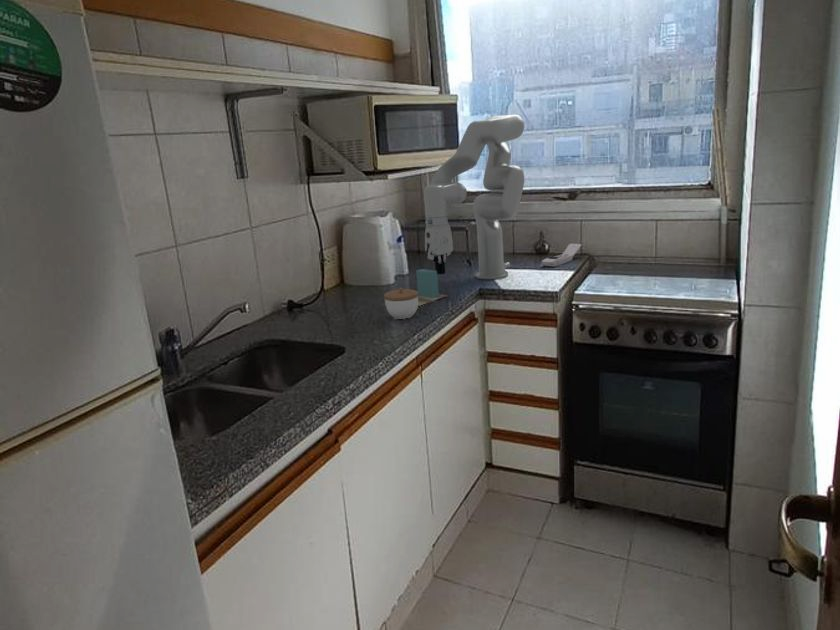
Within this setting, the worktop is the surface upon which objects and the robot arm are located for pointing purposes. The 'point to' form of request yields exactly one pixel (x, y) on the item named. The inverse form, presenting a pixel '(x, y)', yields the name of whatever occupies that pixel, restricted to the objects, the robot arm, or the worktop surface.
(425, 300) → the mat
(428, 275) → the tile
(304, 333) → the worktop surface
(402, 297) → the lidded jar
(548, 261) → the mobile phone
